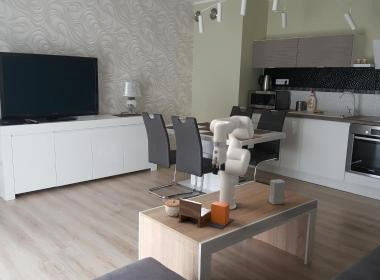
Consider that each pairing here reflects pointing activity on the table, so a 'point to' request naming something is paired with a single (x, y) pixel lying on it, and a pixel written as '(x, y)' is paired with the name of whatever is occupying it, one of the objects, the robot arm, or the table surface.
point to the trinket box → (172, 207)
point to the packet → (220, 212)
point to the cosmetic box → (277, 191)
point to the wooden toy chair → (193, 211)
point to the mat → (218, 224)
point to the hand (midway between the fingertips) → (218, 172)
